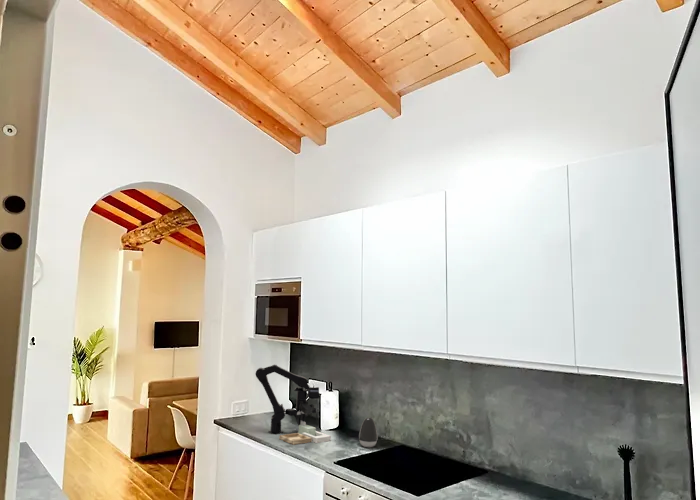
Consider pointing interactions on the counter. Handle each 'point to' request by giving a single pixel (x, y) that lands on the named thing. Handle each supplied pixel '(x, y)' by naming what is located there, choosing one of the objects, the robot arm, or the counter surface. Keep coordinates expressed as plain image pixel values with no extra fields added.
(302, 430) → the caddy
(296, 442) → the tray
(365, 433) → the egg shaped speaker
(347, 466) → the counter surface
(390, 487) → the counter surface
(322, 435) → the housing
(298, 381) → the robot arm
